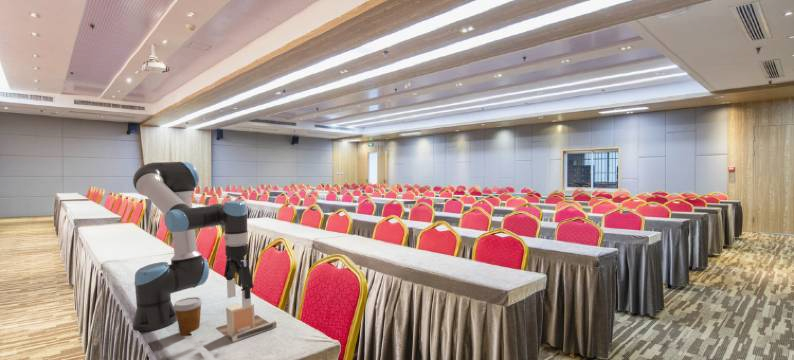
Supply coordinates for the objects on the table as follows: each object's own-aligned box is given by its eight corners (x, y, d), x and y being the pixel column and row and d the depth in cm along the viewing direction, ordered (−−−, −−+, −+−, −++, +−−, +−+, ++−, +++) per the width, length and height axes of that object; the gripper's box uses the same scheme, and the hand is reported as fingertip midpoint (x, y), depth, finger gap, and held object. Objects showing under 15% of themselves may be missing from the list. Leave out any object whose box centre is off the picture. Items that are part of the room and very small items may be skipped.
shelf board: (215, 331, 146) (215, 322, 146) (257, 318, 157) (256, 310, 157) (233, 346, 134) (232, 336, 133) (276, 331, 145) (276, 321, 145)
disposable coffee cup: (197, 324, 153) (195, 295, 152) (208, 331, 147) (206, 299, 146) (171, 333, 146) (168, 302, 145) (181, 340, 140) (179, 307, 139)
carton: (249, 327, 145) (248, 301, 145) (255, 331, 142) (253, 304, 141) (227, 334, 140) (226, 307, 139) (233, 338, 136) (231, 310, 136)
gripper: (213, 240, 145) (215, 295, 147) (240, 252, 127) (242, 315, 129) (233, 237, 151) (235, 290, 152) (262, 248, 133) (264, 308, 134)
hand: (238, 301), depth 141 cm, fingers open, 13 cm apart
